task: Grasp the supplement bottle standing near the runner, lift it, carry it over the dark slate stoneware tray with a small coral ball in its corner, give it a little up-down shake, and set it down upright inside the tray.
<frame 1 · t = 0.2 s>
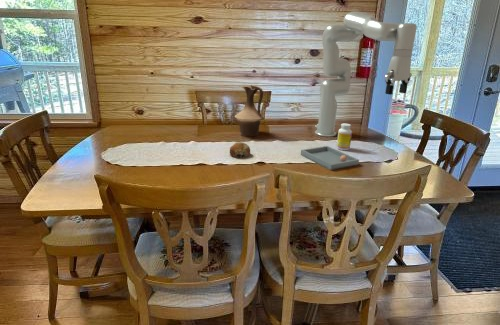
hand: (395, 93, 155), 31 cm above the table, tool pointing down, fingers open, 9 cm apart
bread roll: (239, 155, 164), on the table
tray: (328, 159, 160), on the table
supplement bottle: (342, 149, 176), on the table
ball: (343, 161, 157), point 1 cm above the table, touching tray
pitcher: (249, 134, 198), on the table
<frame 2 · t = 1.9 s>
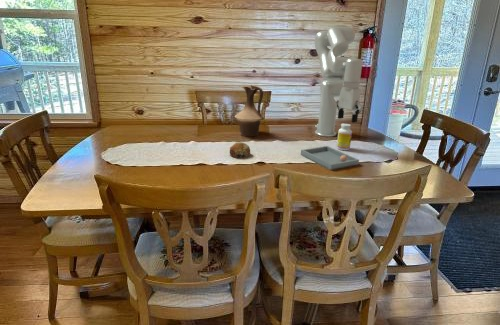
hand: (347, 120, 170), 15 cm above the table, tool pointing down, fingers open, 9 cm apart
nothing on the table moved.
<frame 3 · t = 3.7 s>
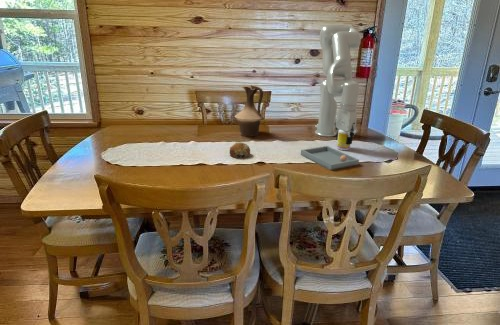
hand: (343, 141, 175), 4 cm above the table, tool pointing down, fingers closed on supplement bottle, 6 cm apart
supplement bottle: (342, 149, 176), on the table, touching gripper
everything else where it was.
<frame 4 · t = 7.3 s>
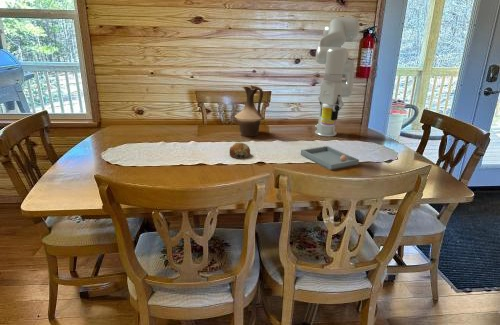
hand: (328, 117, 156), 19 cm above the table, tool pointing down, fingers closed on supplement bottle, 6 cm apart
supplement bottle: (327, 126, 157), point 15 cm above the table, touching gripper
everything else where it was.
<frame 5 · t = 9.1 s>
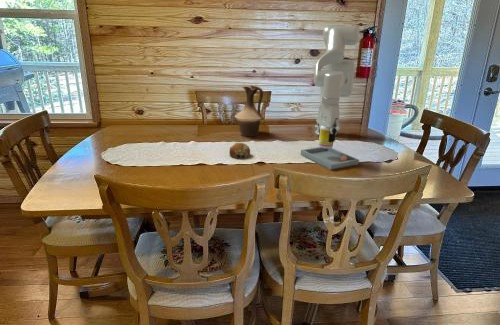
hand: (326, 139, 159), 9 cm above the table, tool pointing down, fingers closed on supplement bottle, 6 cm apart
supplement bottle: (325, 147, 161), point 5 cm above the table, touching gripper
everything else where it was.
when the fingers open (6 cm above the table, at t = 10.8 s): supplement bottle drops 1 cm, resting on tray.
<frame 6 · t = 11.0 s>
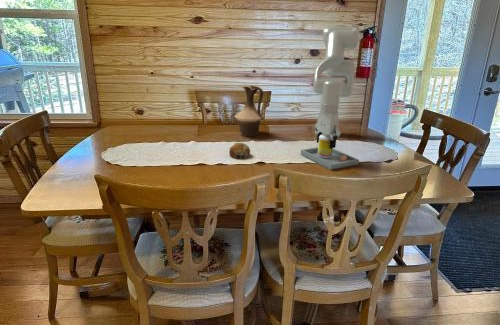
hand: (325, 145, 160), 6 cm above the table, tool pointing down, fingers open, 8 cm apart
supplement bottle: (324, 156, 163), resting on tray
everything else where it was.
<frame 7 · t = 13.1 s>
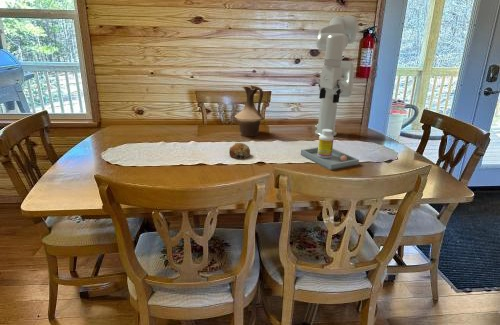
hand: (328, 100, 163), 26 cm above the table, tool pointing down, fingers open, 9 cm apart
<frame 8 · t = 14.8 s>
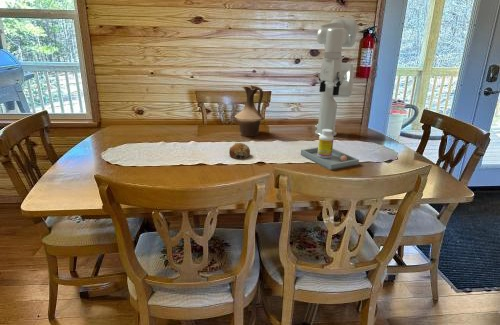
hand: (328, 93, 165), 28 cm above the table, tool pointing down, fingers open, 9 cm apart
at the end: supplement bottle inside the target area on the tray (3.2 cm from its centre), point 0.4 cm above the tray's base; supplement bottle tilted 0°; the gripper is holding nothing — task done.
